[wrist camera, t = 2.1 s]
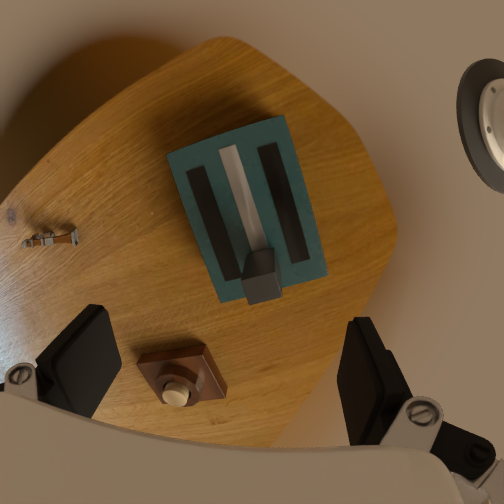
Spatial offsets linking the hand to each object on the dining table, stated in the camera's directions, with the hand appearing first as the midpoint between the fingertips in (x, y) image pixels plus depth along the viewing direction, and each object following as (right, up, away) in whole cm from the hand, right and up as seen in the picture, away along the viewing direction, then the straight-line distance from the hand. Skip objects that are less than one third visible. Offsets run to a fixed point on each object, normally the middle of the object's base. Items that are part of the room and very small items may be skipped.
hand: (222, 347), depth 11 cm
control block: (-8, -13, +27) cm, 31 cm away
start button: (-8, -14, +24) cm, 29 cm away
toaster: (+1, +8, +19) cm, 21 cm away
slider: (+2, +3, +14) cm, 15 cm away
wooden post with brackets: (-24, +6, +22) cm, 33 cm away
